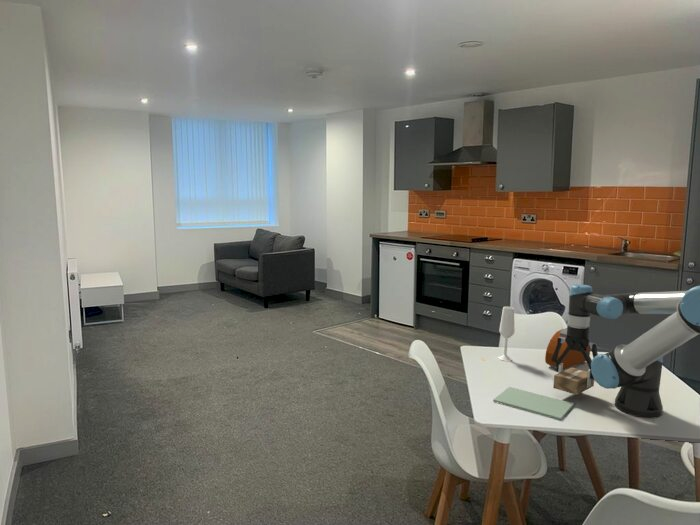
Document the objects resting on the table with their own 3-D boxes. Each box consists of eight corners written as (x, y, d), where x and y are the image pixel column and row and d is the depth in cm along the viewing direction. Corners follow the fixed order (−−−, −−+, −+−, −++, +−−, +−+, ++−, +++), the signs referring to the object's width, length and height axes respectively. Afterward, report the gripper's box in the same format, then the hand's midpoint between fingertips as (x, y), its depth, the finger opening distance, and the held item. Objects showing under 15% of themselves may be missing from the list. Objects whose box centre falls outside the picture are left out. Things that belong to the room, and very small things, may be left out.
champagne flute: (510, 362, 238) (514, 310, 235) (495, 359, 242) (499, 308, 238) (514, 358, 244) (517, 307, 241) (499, 355, 247) (502, 305, 244)
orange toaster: (571, 357, 248) (574, 322, 245) (590, 362, 241) (593, 326, 238) (543, 367, 233) (546, 330, 231) (562, 373, 226) (566, 335, 224)
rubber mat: (573, 405, 193) (573, 403, 193) (560, 420, 180) (560, 418, 180) (509, 388, 207) (509, 386, 207) (493, 401, 195) (493, 399, 194)
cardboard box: (593, 386, 202) (594, 373, 201) (576, 394, 193) (577, 381, 192) (570, 379, 209) (571, 367, 208) (553, 388, 199) (554, 375, 199)
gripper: (613, 329, 194) (608, 387, 197) (550, 319, 207) (547, 374, 210) (608, 333, 188) (603, 393, 191) (544, 323, 201) (540, 379, 204)
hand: (573, 383), depth 201 cm, fingers closed on cardboard box, 10 cm apart
